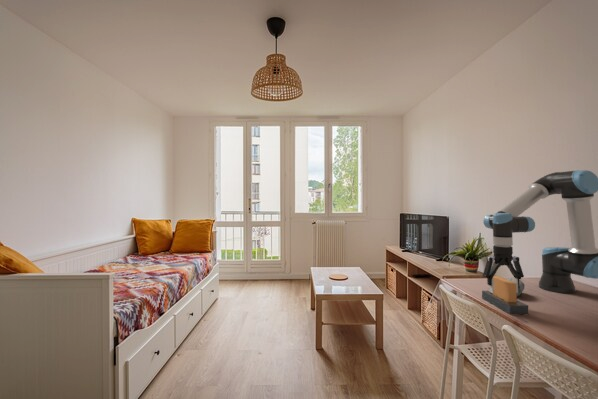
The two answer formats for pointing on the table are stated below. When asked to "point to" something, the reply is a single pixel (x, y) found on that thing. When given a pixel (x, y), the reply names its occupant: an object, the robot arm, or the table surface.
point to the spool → (519, 287)
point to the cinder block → (505, 304)
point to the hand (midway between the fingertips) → (503, 292)
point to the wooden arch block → (504, 289)
